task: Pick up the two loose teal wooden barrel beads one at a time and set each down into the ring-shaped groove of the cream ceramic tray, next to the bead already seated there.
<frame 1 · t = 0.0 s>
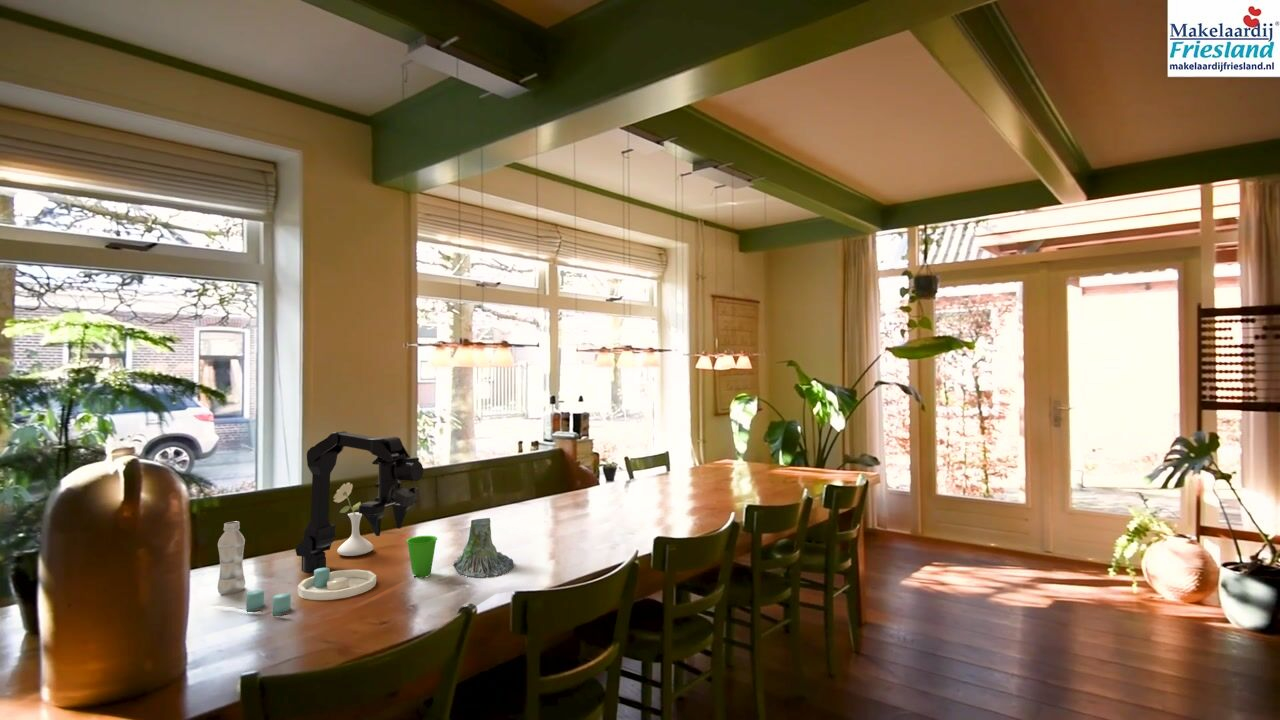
hand: (388, 532, 189), 15 cm above the table, tool pointing down, fingers open, 9 cm apart
bead a: (255, 609, 167), on the table
bead seated: (321, 585, 183), point 1 cm above the table, touching groove tray
groove tray: (337, 591, 181), on the table
plastic bottle: (231, 594, 179), on the table
cup: (421, 576, 195), on the table
flower in vase: (353, 555, 218), on the table
bead b: (281, 613, 164), on the table
tree stump: (483, 569, 202), on the table
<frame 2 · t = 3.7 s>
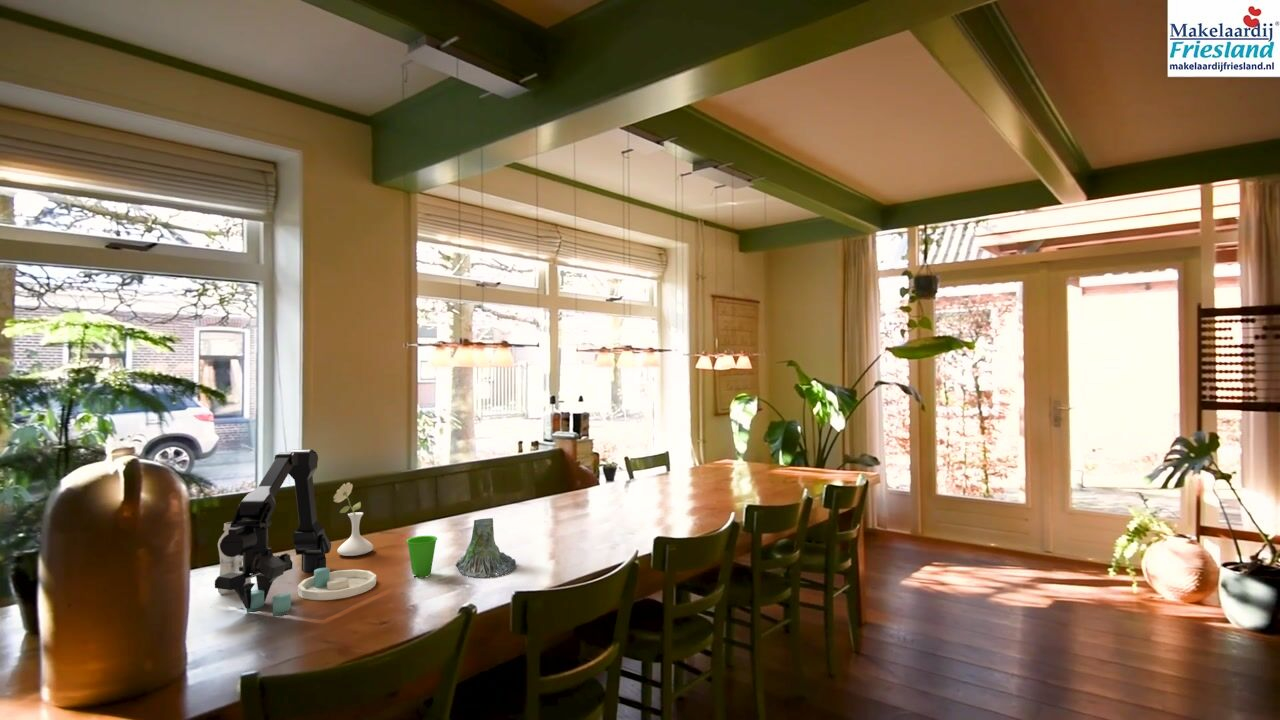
hand: (255, 605, 167), 1 cm above the table, tool pointing down, fingers closed on bead a, 4 cm apart
bead a: (255, 609, 167), on the table, touching gripper
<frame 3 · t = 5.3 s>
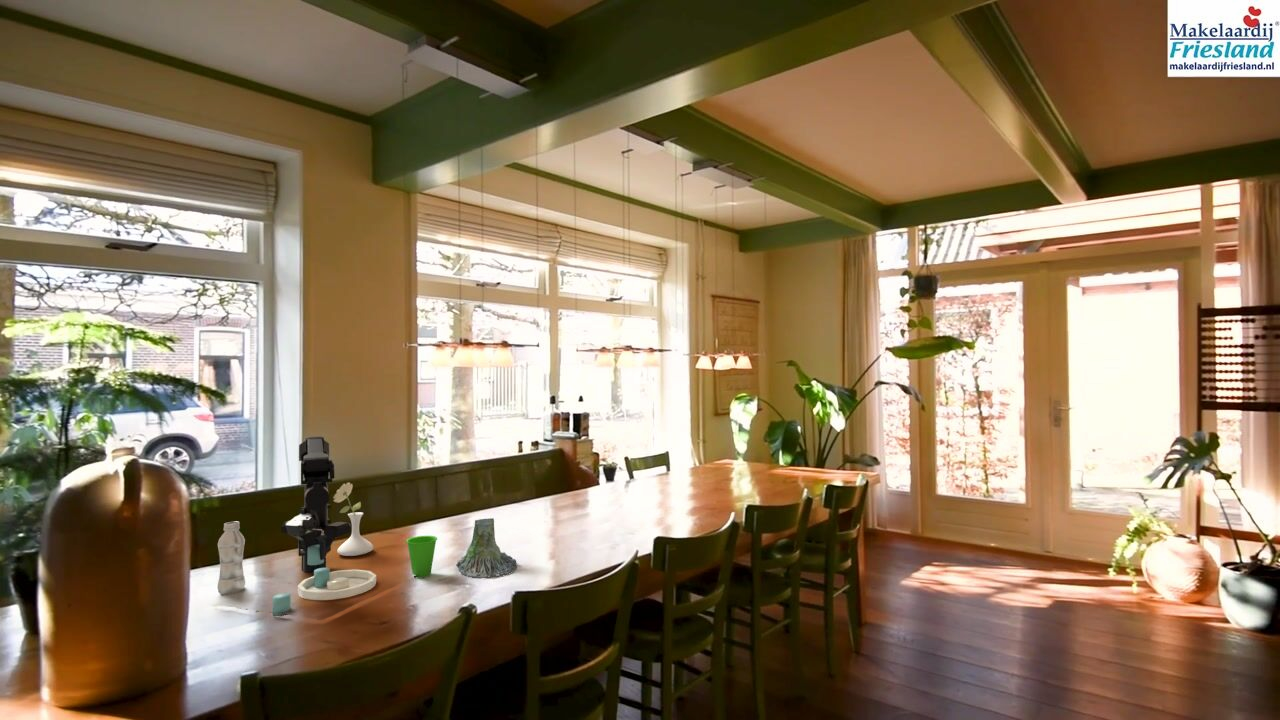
hand: (315, 559, 175), 11 cm above the table, tool pointing down, fingers closed on bead a, 4 cm apart
bead a: (315, 563, 175), point 10 cm above the table, touching gripper
when the fingers open (3 cm above the table, at t = 7.2 s): bead a stays where it is, resting on groove tray.
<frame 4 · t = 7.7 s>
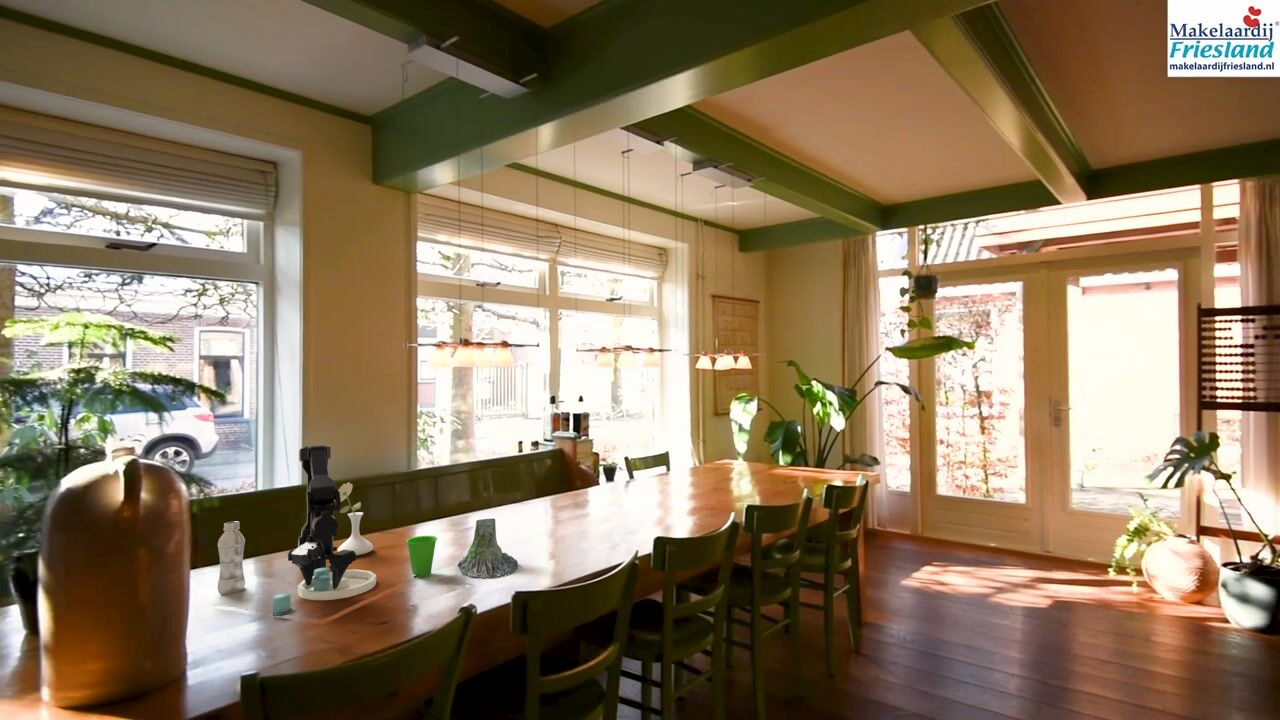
hand: (321, 586, 176), 3 cm above the table, tool pointing down, fingers open, 9 cm apart
bead a: (321, 594, 176), point 1 cm above the table, touching groove tray
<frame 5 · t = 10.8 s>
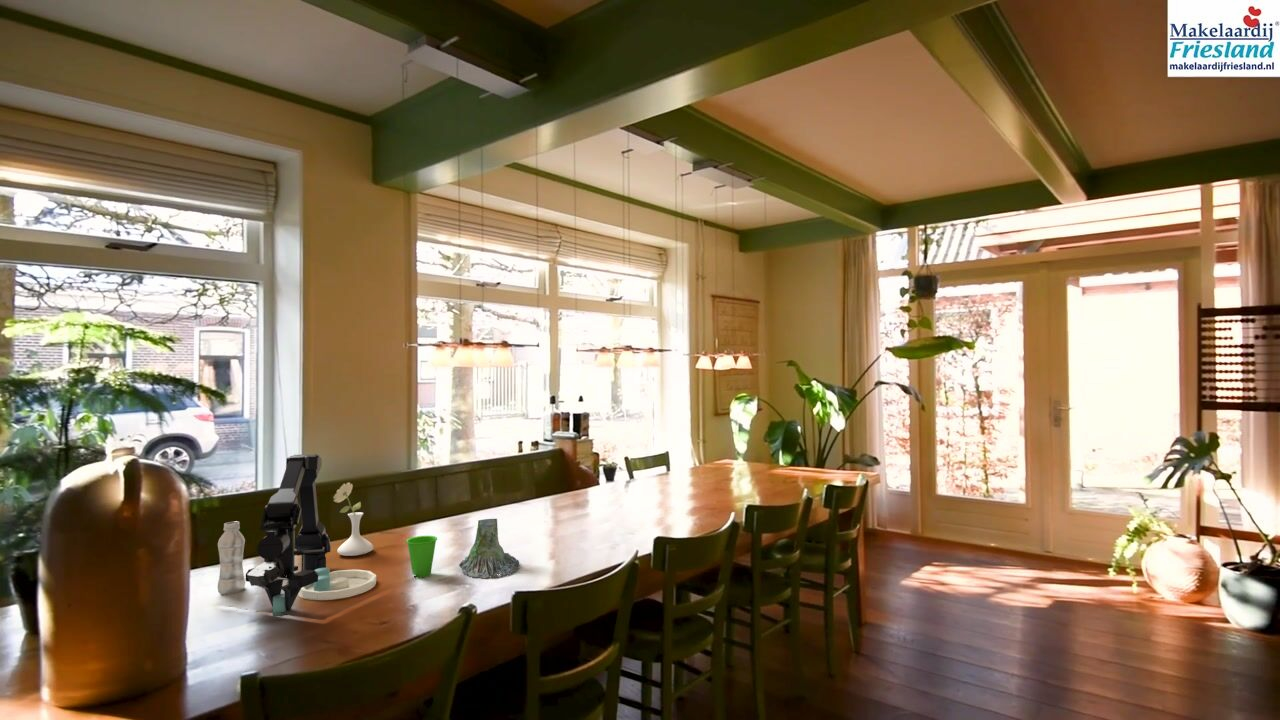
hand: (281, 609, 164), 1 cm above the table, tool pointing down, fingers closed on bead b, 4 cm apart
bead b: (281, 613, 164), on the table, touching gripper
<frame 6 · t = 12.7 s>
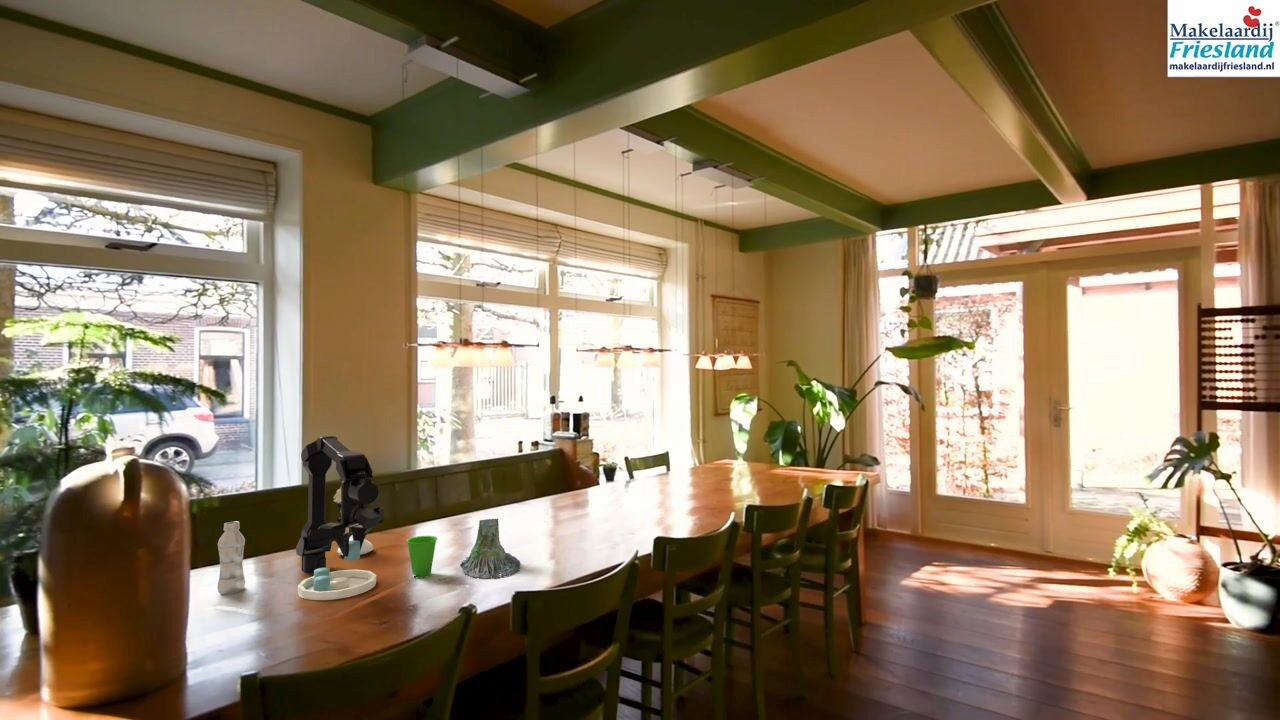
hand: (351, 554, 179), 11 cm above the table, tool pointing down, fingers closed on bead b, 4 cm apart
bead b: (352, 558, 179), point 10 cm above the table, touching gripper
when the fingers open (3 cm above the table, at t = 14.6 s): bead b stays where it is, resting on groove tray.
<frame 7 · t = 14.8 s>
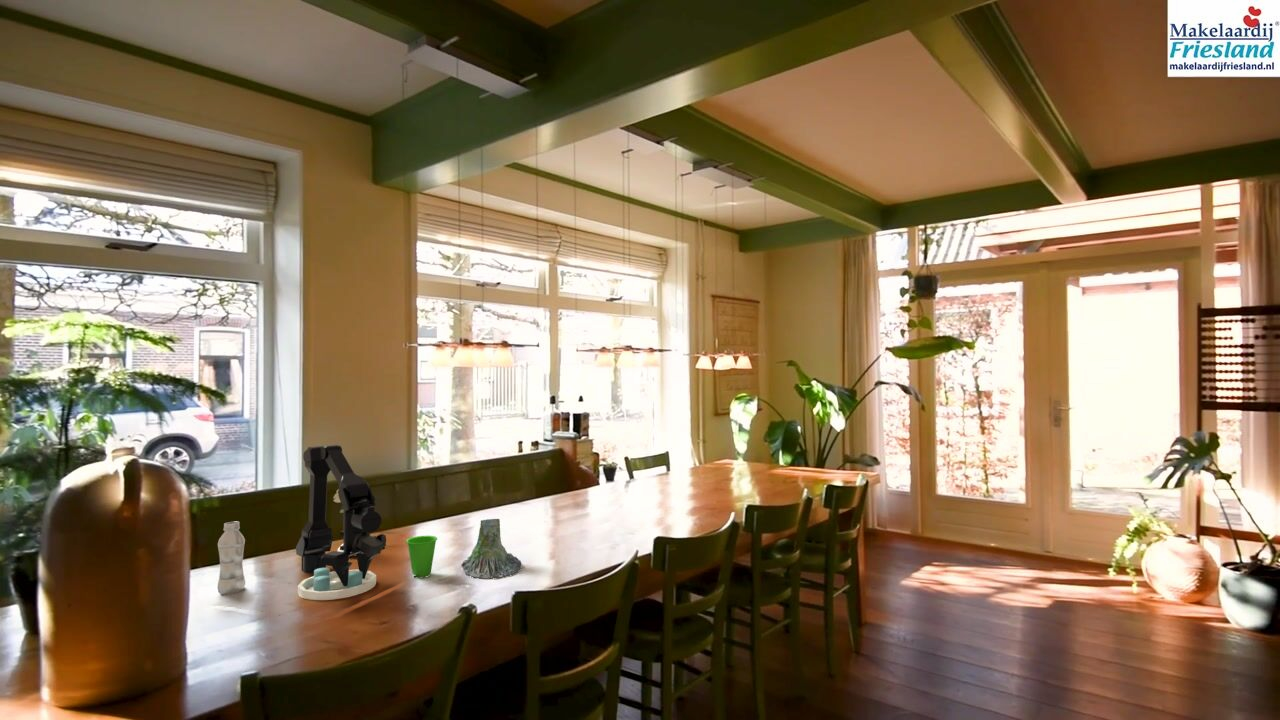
hand: (354, 582, 180), 3 cm above the table, tool pointing down, fingers open, 6 cm apart
bead b: (354, 589, 179), point 1 cm above the table, touching groove tray
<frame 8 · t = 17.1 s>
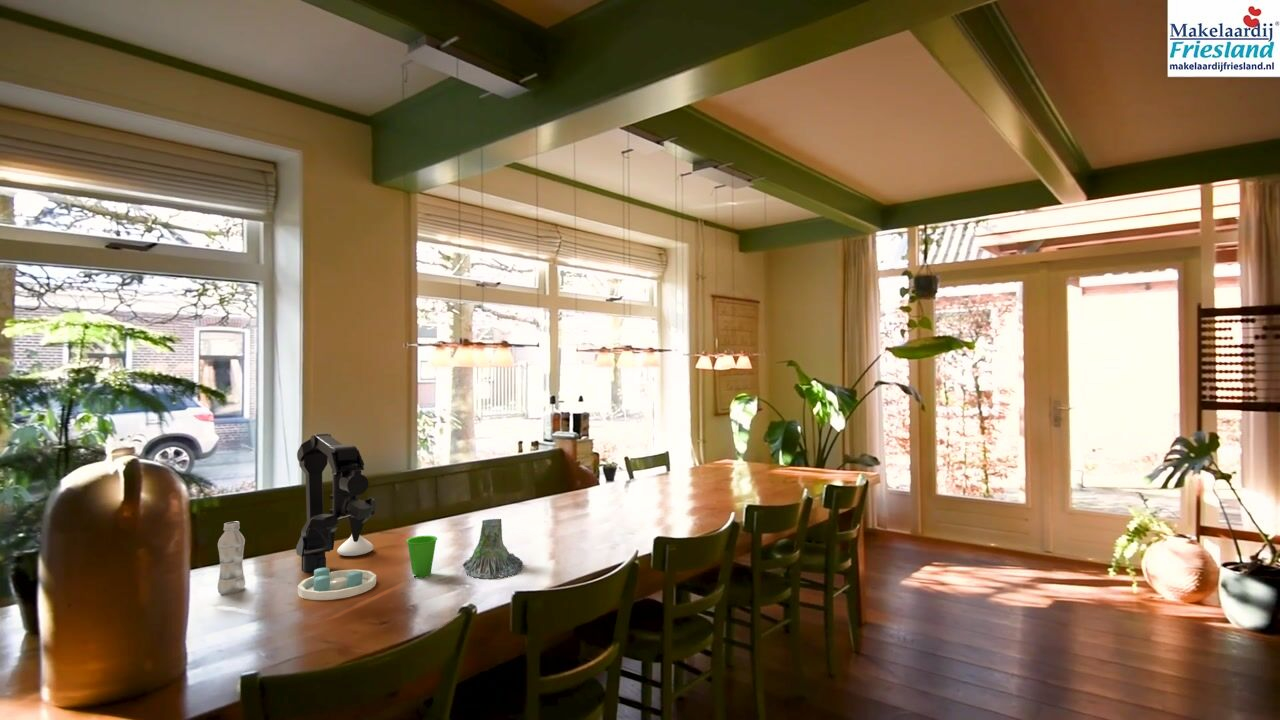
hand: (343, 545, 181), 13 cm above the table, tool pointing down, fingers open, 9 cm apart
at the end: bead a 0.0 cm from the target spot on the groove tray, point 1.0 cm above the groove tray's base; bead b 0.1 cm from the target spot on the groove tray, point 1.0 cm above the groove tray's base; bead a tilted 0° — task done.
